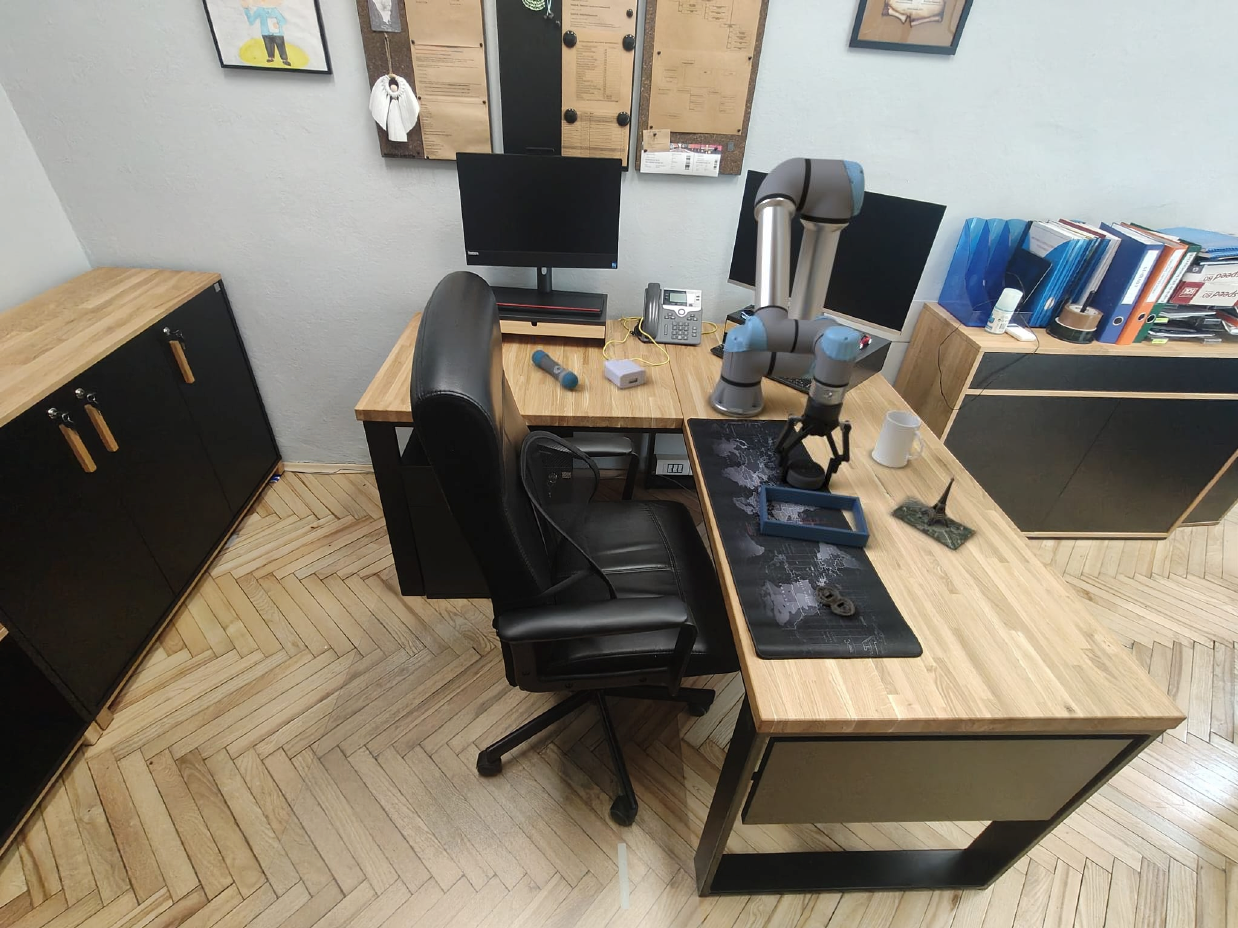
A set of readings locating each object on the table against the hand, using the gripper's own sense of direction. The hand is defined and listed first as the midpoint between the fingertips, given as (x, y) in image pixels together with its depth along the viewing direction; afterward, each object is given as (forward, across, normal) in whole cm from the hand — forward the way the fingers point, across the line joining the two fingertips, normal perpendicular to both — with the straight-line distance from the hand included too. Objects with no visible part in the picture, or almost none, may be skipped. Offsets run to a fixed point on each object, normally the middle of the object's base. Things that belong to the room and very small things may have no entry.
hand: (803, 480), depth 142 cm
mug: (+1, +24, +14) cm, 28 cm away
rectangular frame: (0, 0, -15) cm, 15 cm away
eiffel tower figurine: (+1, +27, -10) cm, 29 cm away
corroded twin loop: (+1, +2, -39) cm, 39 cm away
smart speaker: (+1, 0, 0) cm, 1 cm away
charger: (0, -52, +45) cm, 69 cm away
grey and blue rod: (0, -71, +40) cm, 82 cm away
